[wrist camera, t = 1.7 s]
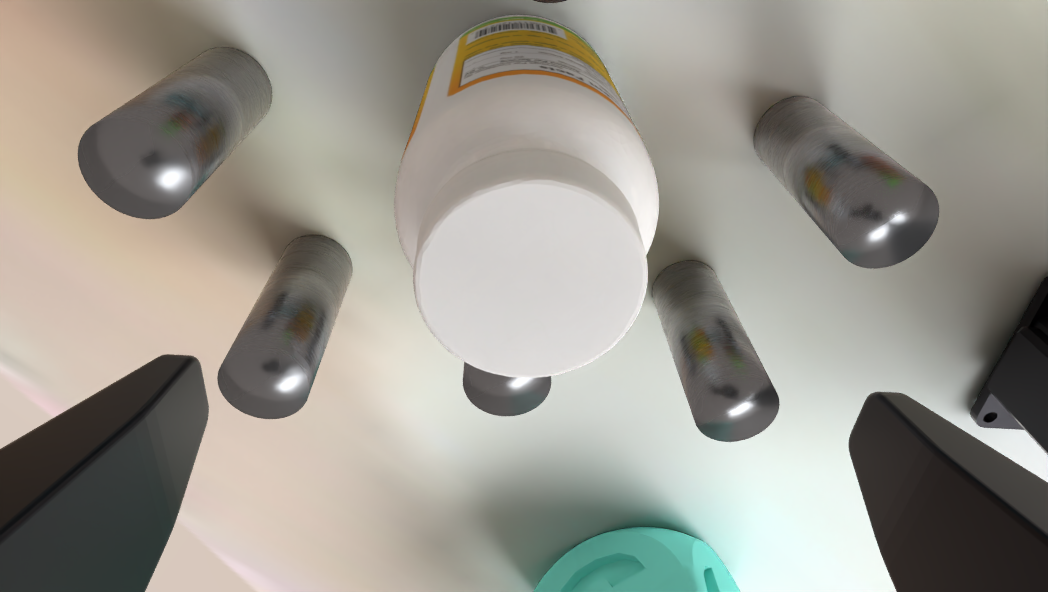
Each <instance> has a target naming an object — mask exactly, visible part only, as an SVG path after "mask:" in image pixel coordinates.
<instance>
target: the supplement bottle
mask: <svg viewBox="0 0 1048 592" xmlns="http://www.w3.org/2000/svg"><path fill="white" fill-rule="evenodd" d="M394 210H395V221H396V228H397V232H398V236H399V240H400V243H401V246H402V248H403V251H404V254H405V256H406V258H407V259H408V261H409V263H410V265H411V266H412V268H413V284H414V292H415V297H416V302H417V306H418V308H419V310H420V313H421V315H422V317H423V319H424V321H425V323H426V325H427V326H428V328H429V330H430V331H431V333H432V334H433V335H434V336H435V337H436V339H437V340H438V341H439V342H440V343H441V344H442V345H443V346H444V347H445V348H446V349H447V350H448V351H449V352H451V353H452V354H454V355H455V356H456V357H458V358H459V359H461V360H463V361H464V362H466V363H468V364H470V365H472V366H473V367H475V368H478V369H481V370H483V371H486V372H489V373H493V374H498V375H503V376H507V377H516V378H538V377H548V376H553V375H558V374H562V373H565V372H569V371H572V370H574V369H577V368H580V367H582V366H584V365H587V364H589V363H591V362H592V361H594V360H595V359H597V358H599V357H600V356H602V355H603V354H605V353H606V352H607V351H609V350H610V349H611V348H612V347H613V346H614V345H615V344H617V343H618V342H619V341H620V339H621V338H622V337H623V336H624V335H625V334H626V333H627V331H628V330H629V329H630V327H631V326H632V324H633V323H634V321H635V319H636V318H637V316H638V314H639V312H640V309H641V307H642V304H643V301H644V297H645V294H646V289H647V283H648V265H647V258H646V255H647V253H648V251H649V248H650V246H651V244H652V241H653V238H654V235H655V231H656V226H657V221H658V215H659V193H658V184H657V180H656V175H655V171H654V167H653V165H652V162H651V159H650V157H649V154H648V152H647V149H646V147H645V145H644V142H643V140H642V138H641V136H640V135H639V133H638V130H637V128H636V127H635V125H634V124H633V122H632V120H631V118H630V116H629V114H628V112H627V110H626V108H625V106H624V104H623V102H622V100H621V98H620V96H619V94H618V92H617V90H616V88H615V86H614V84H613V82H612V80H611V78H610V76H609V74H608V72H607V70H606V68H605V66H604V65H603V63H602V62H601V60H600V58H599V57H598V55H597V54H596V53H595V51H594V50H593V49H592V47H591V46H590V45H589V44H588V43H587V42H586V41H585V40H584V39H583V38H581V37H580V36H579V35H578V34H576V33H575V32H574V31H572V30H571V29H569V28H567V27H565V26H563V25H561V24H559V23H557V22H554V21H552V20H549V19H546V18H541V17H537V16H531V15H507V16H501V17H497V18H493V19H490V20H487V21H484V22H482V23H480V24H477V25H475V26H473V27H472V28H470V29H468V30H467V31H465V32H464V33H462V34H461V35H460V36H459V37H458V38H456V39H455V40H454V41H453V42H452V43H451V44H450V45H449V46H448V47H447V48H446V50H445V51H444V52H443V53H442V55H441V56H440V57H439V59H438V61H437V62H436V64H435V66H434V68H433V70H432V72H431V74H430V76H429V79H428V81H427V84H426V87H425V91H424V94H423V97H422V101H421V104H420V107H419V110H418V113H417V116H416V119H415V122H414V125H413V128H412V131H411V134H410V137H409V140H408V142H407V145H406V148H405V151H404V154H403V157H402V160H401V164H400V168H399V172H398V178H397V183H396V189H395V200H394Z"/></svg>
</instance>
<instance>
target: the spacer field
mask: <svg viewBox="0 0 1048 592" xmlns="http://www.w3.org/2000/svg"><path fill="white" fill-rule="evenodd" d="M534 1H537V2H544V3H556V2H562V1H566V0H534ZM271 102H272V88H271V84H270V81H269V79H268V76H267V74H266V73H265V71H264V70H263V68H262V67H261V66H260V65H259V64H258V62H257V61H255V60H254V59H253V58H252V57H250V56H249V55H247V54H246V53H244V52H242V51H239V50H237V49H233V48H228V47H218V48H213V49H210V50H207V51H205V52H204V53H202V54H201V55H199V56H198V57H196V58H195V59H193V60H192V61H190V62H188V63H187V64H185V65H184V66H182V67H181V68H179V69H178V70H176V71H175V72H173V73H172V74H170V75H169V76H167V77H166V78H164V79H162V80H161V81H159V82H158V83H156V84H155V85H153V86H152V87H150V88H149V89H147V90H146V91H144V92H143V93H141V94H139V95H138V96H136V97H135V98H133V99H132V100H130V101H129V102H127V103H126V104H124V105H123V106H121V107H120V108H118V109H117V110H115V111H113V112H112V113H110V114H109V115H107V116H106V117H104V118H103V119H101V120H100V121H98V122H97V123H95V124H94V125H92V126H91V127H90V128H89V129H88V130H87V131H86V132H85V133H84V135H83V136H82V138H81V140H80V143H79V147H78V162H79V167H80V170H81V173H82V175H83V177H84V179H85V181H86V182H87V184H88V186H89V187H90V188H91V190H92V191H93V192H94V193H95V194H96V195H97V196H98V197H99V198H100V199H101V200H102V201H103V202H105V203H106V204H107V205H109V206H110V207H112V208H114V209H115V210H117V211H119V212H121V213H123V214H126V215H129V216H132V217H136V218H143V219H157V218H162V217H166V216H169V215H171V214H173V213H175V212H176V211H178V210H179V209H180V208H181V207H182V206H183V205H184V204H185V203H186V202H187V201H188V199H189V198H190V197H191V196H192V195H193V194H194V193H195V192H196V191H197V190H198V189H199V187H200V186H201V185H202V184H203V183H204V182H205V181H206V180H207V179H208V178H209V177H210V175H211V174H212V173H213V172H214V171H215V170H216V169H217V168H218V167H219V166H220V165H221V163H222V162H223V161H224V160H225V159H226V158H227V157H228V156H229V155H230V154H231V153H232V151H233V150H234V149H235V148H236V147H237V146H238V145H239V144H240V143H241V142H242V141H243V139H244V138H245V137H246V136H247V135H248V134H249V133H250V132H251V131H252V130H253V129H254V127H255V126H256V125H257V124H258V123H259V122H260V121H261V120H262V119H263V118H264V117H265V115H266V114H267V112H268V111H269V109H270V106H271ZM754 145H755V150H756V152H757V155H758V156H759V158H760V159H761V160H762V161H763V163H764V164H765V165H766V166H767V167H768V168H769V170H770V171H771V172H772V173H773V174H774V175H775V177H776V178H777V179H778V180H779V181H780V182H781V184H782V185H783V186H784V187H785V188H786V189H787V191H788V192H789V193H790V194H791V195H792V196H793V198H794V199H795V200H796V201H797V202H798V203H799V205H800V206H801V207H802V208H803V209H804V210H805V212H806V213H807V214H808V215H809V216H810V217H811V219H812V220H813V221H814V222H815V223H816V224H817V226H818V227H819V228H820V229H821V230H822V231H823V233H824V234H825V235H826V236H827V237H828V238H829V240H830V241H831V242H832V243H833V244H834V245H835V247H836V248H837V249H838V250H839V251H840V253H841V254H842V255H843V256H844V257H845V258H846V259H847V260H848V261H849V262H851V263H853V264H855V265H857V266H860V267H864V268H883V267H888V266H892V265H895V264H897V263H900V262H902V261H904V260H906V259H907V258H909V257H910V256H912V255H913V254H915V253H916V252H917V251H918V250H919V249H921V248H922V247H923V246H924V244H925V243H926V242H927V241H928V240H929V238H930V237H931V235H932V233H933V231H934V230H935V227H936V225H937V221H938V217H939V205H938V201H937V198H936V196H935V194H934V193H933V191H932V190H931V189H930V188H929V187H928V186H927V185H925V184H924V183H923V182H921V181H920V180H919V179H918V178H916V177H915V176H914V175H912V174H911V173H910V172H909V171H907V170H906V169H905V168H903V167H902V166H901V165H900V164H898V163H897V162H896V161H894V160H893V159H892V158H890V157H889V156H888V155H887V154H885V153H884V152H883V151H881V150H880V149H879V148H878V147H876V146H875V145H874V144H872V143H871V142H870V141H868V140H867V139H866V138H865V137H863V136H862V135H861V134H859V133H858V132H857V131H856V130H854V129H853V128H852V127H850V126H849V125H848V124H846V123H845V122H844V121H843V120H841V119H840V118H839V117H837V116H836V115H835V114H834V113H832V112H831V111H830V110H828V109H827V108H826V107H824V106H823V105H822V104H821V103H819V102H818V101H816V100H814V99H812V98H809V97H800V96H798V97H791V98H787V99H785V100H782V101H780V102H778V103H777V104H775V105H774V106H772V107H771V108H770V109H769V110H768V111H767V112H766V113H765V114H764V115H763V117H762V118H761V120H760V121H759V123H758V125H757V128H756V131H755V135H754ZM351 276H352V262H351V259H350V257H349V255H348V253H347V252H346V251H345V249H344V248H343V247H342V246H341V245H339V244H338V243H337V242H335V241H333V240H331V239H329V238H327V237H323V236H318V235H307V236H302V237H299V238H297V239H295V240H294V241H292V242H291V243H290V244H289V245H288V246H287V248H286V249H285V251H284V253H283V255H282V256H281V258H280V260H279V262H278V264H277V265H276V267H275V269H274V271H273V273H272V274H271V276H270V278H269V280H268V282H267V283H266V285H265V287H264V289H263V291H262V292H261V294H260V296H259V298H258V300H257V302H256V303H255V305H254V307H253V309H252V311H251V312H250V314H249V316H248V318H247V320H246V321H245V323H244V325H243V327H242V329H241V330H240V332H239V334H238V336H237V338H236V339H235V341H234V343H233V345H232V347H231V348H230V350H229V352H228V354H227V356H226V358H225V359H224V361H223V363H222V365H221V367H220V369H219V372H218V385H219V388H220V391H221V393H222V394H223V396H224V397H225V399H226V400H227V401H228V402H229V403H230V404H231V405H232V406H234V407H235V408H236V409H238V410H240V411H241V412H243V413H245V414H248V415H250V416H254V417H257V418H263V419H279V418H284V417H287V416H290V415H292V414H294V413H296V412H297V411H299V410H300V409H301V408H302V407H303V406H304V404H305V403H306V401H307V398H308V395H309V393H310V390H311V387H312V384H313V382H314V379H315V376H316V373H317V370H318V368H319V365H320V362H321V359H322V357H323V354H324V351H325V348H326V345H327V343H328V340H329V337H330V334H331V332H332V329H333V326H334V323H335V320H336V318H337V315H338V312H339V309H340V307H341V304H342V301H343V298H344V295H345V293H346V290H347V287H348V284H349V282H350V279H351ZM652 296H653V300H654V303H655V306H656V309H657V312H658V315H659V318H660V321H661V324H662V327H663V330H664V333H665V335H666V338H667V341H668V344H669V347H670V350H671V353H672V356H673V359H674V362H675V365H676V368H677V371H678V374H679V376H680V379H681V382H682V385H683V388H684V391H685V394H686V397H687V400H688V403H689V406H690V409H691V412H692V415H693V417H694V420H695V423H696V426H697V427H698V429H699V430H700V431H701V432H702V433H703V434H704V435H706V436H707V437H709V438H711V439H714V440H718V441H724V442H733V441H740V440H745V439H748V438H751V437H753V436H755V435H757V434H759V433H760V432H762V431H763V430H765V429H766V428H767V427H768V426H769V425H770V424H771V423H772V422H773V420H774V419H775V417H776V415H777V413H778V410H779V398H778V395H777V392H776V390H775V389H774V387H773V385H772V383H771V381H770V379H769V377H768V375H767V373H766V371H765V369H764V367H763V365H762V363H761V361H760V359H759V357H758V355H757V353H756V351H755V350H754V348H753V346H752V344H751V342H750V340H749V338H748V336H747V334H746V332H745V330H744V328H743V326H742V324H741V322H740V320H739V318H738V316H737V314H736V312H735V311H734V309H733V307H732V305H731V303H730V301H729V299H728V297H727V295H726V293H725V291H724V289H723V287H722V285H721V283H720V281H719V279H718V277H717V275H716V274H715V272H714V271H713V270H712V269H711V268H710V267H709V266H708V265H706V264H704V263H701V262H698V261H682V262H678V263H675V264H673V265H671V266H669V267H667V268H666V269H665V270H663V271H662V272H661V273H660V274H659V276H658V277H657V279H656V280H655V282H654V285H653V289H652ZM463 387H464V391H465V393H466V395H467V397H468V399H469V400H470V401H471V402H472V403H473V404H474V405H475V406H476V407H478V408H479V409H481V410H483V411H485V412H487V413H490V414H493V415H498V416H515V415H520V414H524V413H526V412H529V411H531V410H533V409H534V408H536V407H537V406H539V405H540V404H541V403H542V402H543V401H544V400H545V398H546V397H547V395H548V393H549V391H550V387H551V376H548V377H538V378H516V377H507V376H503V375H498V374H493V373H489V372H486V371H483V370H481V369H478V368H475V367H473V366H472V365H470V364H468V363H466V362H464V374H463Z"/></svg>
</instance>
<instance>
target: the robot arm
mask: <svg viewBox="0 0 1048 592" xmlns="http://www.w3.org/2000/svg"><path fill="white" fill-rule="evenodd" d="M208 413H209V406H208V400H207V395H206V389H205V384H204V379H203V374H202V369H201V365H200V362H199V360H198V359H197V358H196V357H194V356H189V355H170V354H167V355H162V356H160V357H158V358H156V359H154V360H152V361H151V362H149V363H147V364H145V365H144V366H142V367H140V368H139V369H137V370H135V371H133V372H132V373H130V374H128V375H127V376H125V377H123V378H121V379H120V380H118V381H116V382H115V383H113V384H111V385H109V386H108V387H106V388H104V389H103V390H101V391H99V392H97V393H96V394H94V395H92V396H91V397H89V398H87V399H85V400H84V401H82V402H80V403H79V404H77V405H75V406H73V407H72V408H70V409H68V410H66V411H65V412H63V413H61V414H60V415H58V416H56V417H54V418H53V419H51V420H49V421H48V422H46V423H44V424H43V425H41V426H39V427H37V428H36V429H34V430H32V431H30V432H29V433H27V434H25V435H24V436H22V437H20V438H18V439H17V440H15V441H13V442H12V443H10V444H8V445H6V446H5V447H3V448H1V449H0V592H145V590H146V588H147V586H148V584H149V582H150V579H151V577H152V575H153V573H154V571H155V568H156V566H157V564H158V562H159V560H160V557H161V555H162V553H163V551H164V548H165V546H166V544H167V541H168V539H169V537H170V534H171V532H172V530H173V527H174V524H175V522H176V519H177V516H178V513H179V510H180V507H181V504H182V500H183V497H184V494H185V491H186V488H187V485H188V481H189V478H190V475H191V472H192V469H193V466H194V462H195V459H196V456H197V453H198V450H199V447H200V443H201V440H202V437H203V434H204V431H205V428H206V424H207V420H208ZM970 415H971V417H972V419H973V420H974V421H975V422H976V423H977V424H978V425H979V426H980V427H984V428H1002V429H1021V430H1025V431H1026V432H1027V433H1028V434H1029V435H1030V436H1031V437H1032V438H1033V439H1034V440H1035V442H1036V443H1037V444H1038V445H1039V446H1040V447H1041V448H1042V449H1043V450H1044V451H1045V453H1046V454H1047V455H1048V277H1047V278H1045V280H1044V281H1043V282H1042V284H1041V285H1040V287H1039V289H1038V291H1037V293H1036V294H1035V296H1034V298H1033V300H1032V302H1031V303H1030V305H1029V307H1028V309H1027V310H1026V312H1025V314H1024V316H1023V318H1022V319H1021V321H1020V323H1019V325H1018V327H1017V328H1016V330H1015V332H1014V334H1013V336H1012V337H1011V339H1010V341H1009V343H1008V345H1007V346H1006V348H1005V350H1004V352H1003V354H1002V355H1001V357H1000V359H999V361H998V362H997V364H996V366H995V368H994V370H993V371H992V373H991V375H990V377H989V379H988V380H987V382H986V384H985V386H984V388H983V389H982V391H981V393H980V395H979V397H978V398H977V400H976V402H975V404H974V405H973V407H972V409H971V412H970ZM849 452H850V456H851V459H852V463H853V466H854V469H855V472H856V476H857V479H858V482H859V486H860V489H861V492H862V495H863V499H864V502H865V505H866V508H867V512H868V515H869V518H870V522H871V525H872V528H873V531H874V535H875V538H876V541H877V544H878V546H879V549H880V552H881V555H882V557H883V560H884V562H885V565H886V567H887V570H888V572H889V575H890V577H891V579H892V582H893V584H894V586H895V589H896V591H897V592H1048V483H1047V482H1046V481H1044V480H1043V479H1041V478H1039V477H1038V476H1036V475H1035V474H1033V473H1031V472H1030V471H1028V470H1026V469H1025V468H1023V467H1022V466H1020V465H1018V464H1017V463H1015V462H1014V461H1012V460H1010V459H1009V458H1007V457H1005V456H1004V455H1002V454H1001V453H999V452H997V451H996V450H994V449H993V448H991V447H989V446H988V445H986V444H984V443H983V442H981V441H980V440H978V439H976V438H975V437H973V436H971V435H970V434H968V433H967V432H965V431H963V430H962V429H960V428H959V427H957V426H955V425H954V424H952V423H950V422H949V421H947V420H946V419H944V418H942V417H941V416H939V415H938V414H936V413H934V412H933V411H931V410H929V409H928V408H926V407H925V406H923V405H921V404H920V403H918V402H917V401H915V400H913V399H912V398H910V397H908V396H907V395H905V394H902V393H892V392H874V393H872V394H870V395H869V396H868V397H867V399H866V400H865V403H864V405H863V407H862V409H861V412H860V414H859V416H858V418H857V421H856V423H855V425H854V427H853V429H852V432H851V434H850V438H849Z"/></svg>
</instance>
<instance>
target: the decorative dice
mask: <svg viewBox="0 0 1048 592" xmlns="http://www.w3.org/2000/svg"><path fill="white" fill-rule="evenodd" d="M534 592H740V590H739V588H738V587H737V585H736V583H735V581H734V580H733V578H732V576H731V575H730V573H729V572H728V570H727V568H726V567H725V565H724V564H723V563H722V561H721V560H720V558H719V557H718V556H717V554H716V553H715V552H714V551H713V550H712V549H711V548H710V547H709V546H708V545H707V544H706V543H705V542H703V541H701V540H699V539H697V538H694V537H692V536H689V535H687V534H684V533H681V532H678V531H674V530H669V529H664V528H656V527H633V528H625V529H618V530H614V531H610V532H606V533H603V534H600V535H597V536H595V537H592V538H590V539H588V540H586V541H584V542H582V543H581V544H579V545H577V546H576V547H574V548H573V549H571V550H570V551H569V552H567V553H566V554H565V555H564V556H562V557H561V558H560V559H559V560H558V561H557V562H556V563H555V564H554V565H553V566H552V567H551V568H550V569H549V570H548V572H547V573H546V574H545V575H544V577H543V578H542V579H541V581H540V582H539V584H538V585H537V587H536V588H535V590H534Z"/></svg>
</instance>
